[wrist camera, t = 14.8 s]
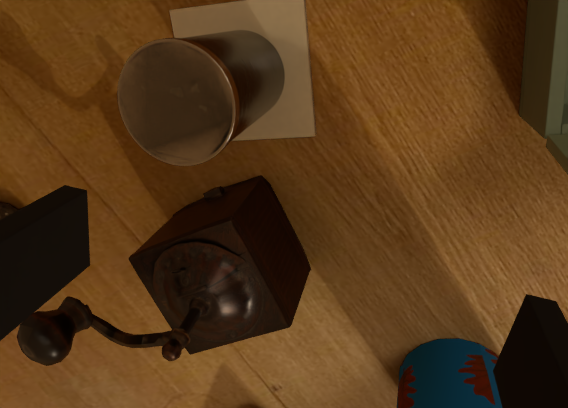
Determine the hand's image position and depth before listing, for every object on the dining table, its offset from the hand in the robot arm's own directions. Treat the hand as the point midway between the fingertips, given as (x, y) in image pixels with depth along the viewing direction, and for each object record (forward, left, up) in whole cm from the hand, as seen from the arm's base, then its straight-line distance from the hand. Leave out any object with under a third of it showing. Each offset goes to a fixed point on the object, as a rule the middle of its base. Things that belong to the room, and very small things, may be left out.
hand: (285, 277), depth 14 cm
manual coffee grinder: (+13, -14, -27) cm, 33 cm away
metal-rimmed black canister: (-3, -9, -26) cm, 28 cm away
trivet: (-3, -9, -27) cm, 28 cm away
